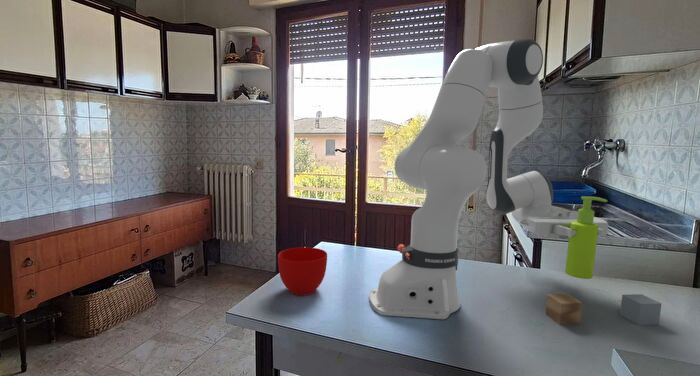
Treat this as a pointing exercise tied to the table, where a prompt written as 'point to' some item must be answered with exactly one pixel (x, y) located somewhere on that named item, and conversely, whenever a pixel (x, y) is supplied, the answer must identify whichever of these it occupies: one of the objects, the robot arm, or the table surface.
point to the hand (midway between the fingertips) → (587, 233)
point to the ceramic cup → (302, 269)
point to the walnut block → (564, 309)
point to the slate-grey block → (640, 309)
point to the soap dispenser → (583, 242)
